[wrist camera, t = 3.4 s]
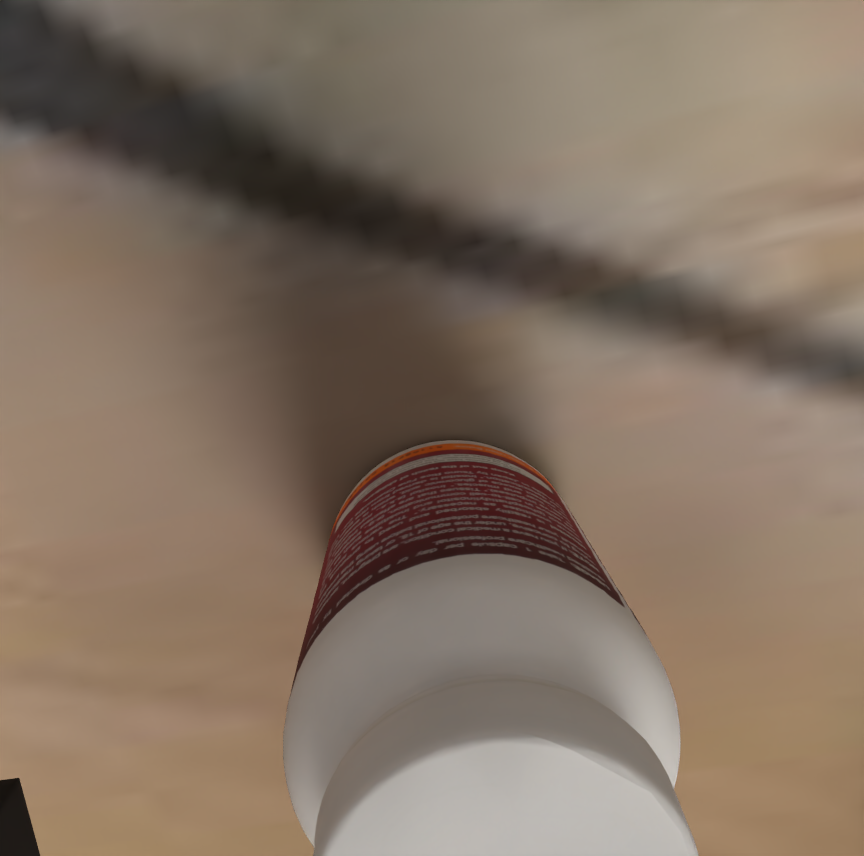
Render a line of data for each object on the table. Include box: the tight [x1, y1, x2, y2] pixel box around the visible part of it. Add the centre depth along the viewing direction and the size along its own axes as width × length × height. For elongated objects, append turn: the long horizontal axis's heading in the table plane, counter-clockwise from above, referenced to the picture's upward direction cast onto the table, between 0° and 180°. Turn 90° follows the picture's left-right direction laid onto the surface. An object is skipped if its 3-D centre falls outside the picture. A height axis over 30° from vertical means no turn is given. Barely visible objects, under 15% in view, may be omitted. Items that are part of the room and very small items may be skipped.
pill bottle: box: [283, 440, 699, 856], centre depth 14 cm, size 6×6×11 cm
